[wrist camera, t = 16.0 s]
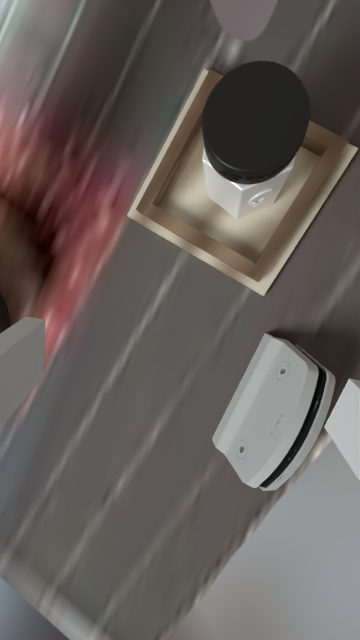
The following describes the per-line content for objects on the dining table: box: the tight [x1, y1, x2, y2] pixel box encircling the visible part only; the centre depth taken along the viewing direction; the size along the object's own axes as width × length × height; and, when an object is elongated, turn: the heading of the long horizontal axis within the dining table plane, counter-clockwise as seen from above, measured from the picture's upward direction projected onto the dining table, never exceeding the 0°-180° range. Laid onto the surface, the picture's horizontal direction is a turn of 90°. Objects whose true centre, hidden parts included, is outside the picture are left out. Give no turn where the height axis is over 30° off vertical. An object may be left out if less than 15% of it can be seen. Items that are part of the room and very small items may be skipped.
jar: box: [202, 61, 310, 219], centre depth 27 cm, size 9×8×12 cm
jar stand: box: [127, 69, 358, 296], centre depth 33 cm, size 20×19×3 cm
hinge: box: [212, 333, 336, 491], centre depth 32 cm, size 17×5×10 cm, turn 156°
